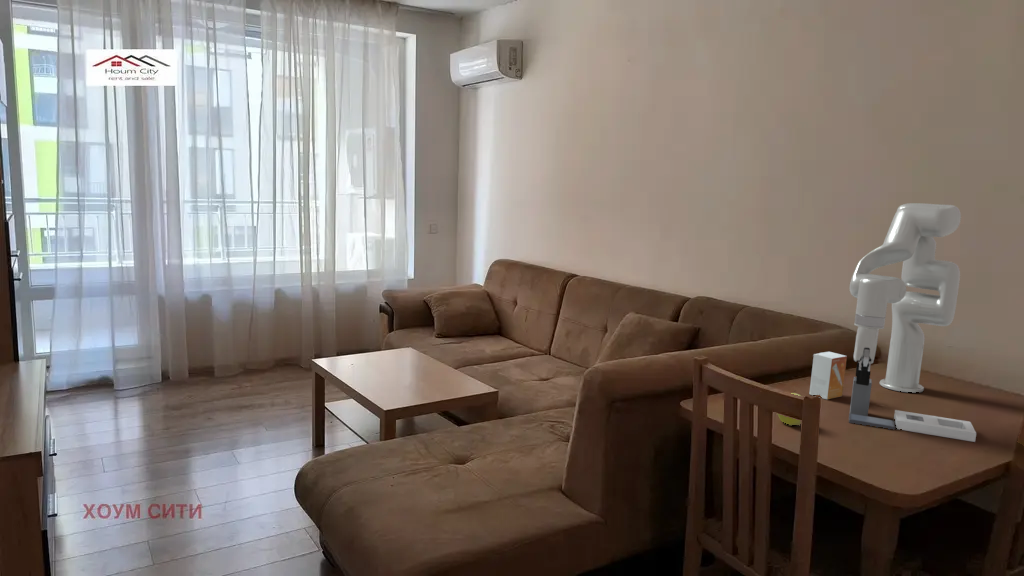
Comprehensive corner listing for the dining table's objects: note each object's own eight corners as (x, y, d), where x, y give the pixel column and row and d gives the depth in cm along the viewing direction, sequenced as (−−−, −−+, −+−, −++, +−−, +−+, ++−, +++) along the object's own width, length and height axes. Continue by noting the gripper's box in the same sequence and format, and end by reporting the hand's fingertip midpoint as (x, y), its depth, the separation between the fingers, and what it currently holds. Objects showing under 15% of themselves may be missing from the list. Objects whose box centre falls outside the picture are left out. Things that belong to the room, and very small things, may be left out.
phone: (848, 416, 197) (849, 413, 197) (893, 423, 192) (893, 420, 192) (848, 422, 191) (849, 419, 191) (894, 430, 187) (894, 426, 187)
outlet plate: (893, 418, 197) (895, 409, 196) (969, 430, 189) (970, 421, 189) (896, 428, 188) (897, 419, 187) (975, 442, 180) (976, 432, 180)
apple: (812, 419, 190) (811, 387, 186) (800, 434, 185) (799, 401, 181) (784, 411, 195) (782, 380, 192) (771, 426, 190) (769, 394, 187)
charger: (849, 410, 203) (853, 376, 201) (867, 412, 201) (871, 378, 199) (849, 414, 199) (854, 380, 197) (867, 417, 197) (871, 382, 195)
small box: (827, 400, 211) (832, 358, 209) (808, 394, 216) (813, 353, 214) (842, 396, 216) (847, 355, 214) (823, 391, 221) (828, 350, 219)
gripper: (854, 315, 205) (847, 372, 207) (855, 324, 189) (847, 385, 192) (883, 319, 202) (875, 376, 204) (886, 328, 186) (877, 390, 188)
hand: (861, 380), depth 198 cm, fingers open, 9 cm apart
